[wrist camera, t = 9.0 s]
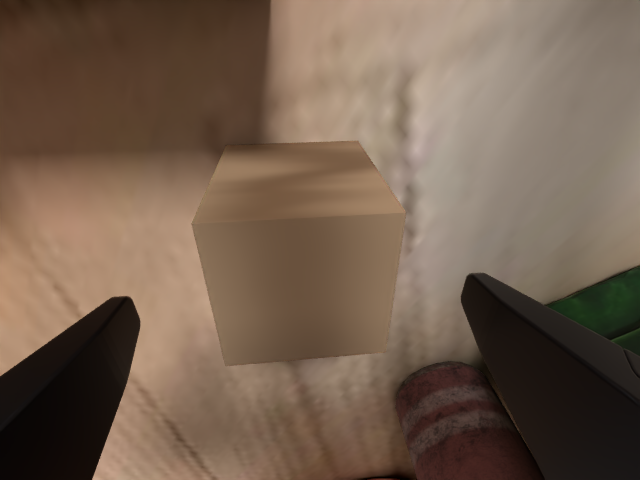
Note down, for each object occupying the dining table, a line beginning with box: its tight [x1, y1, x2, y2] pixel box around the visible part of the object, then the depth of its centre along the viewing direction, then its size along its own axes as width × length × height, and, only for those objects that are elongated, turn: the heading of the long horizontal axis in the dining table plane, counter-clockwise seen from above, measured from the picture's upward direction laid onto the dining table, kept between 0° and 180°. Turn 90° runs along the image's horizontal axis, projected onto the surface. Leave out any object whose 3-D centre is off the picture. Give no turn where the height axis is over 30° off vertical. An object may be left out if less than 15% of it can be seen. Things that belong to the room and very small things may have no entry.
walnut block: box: [192, 141, 406, 366], centre depth 12 cm, size 5×5×6 cm
